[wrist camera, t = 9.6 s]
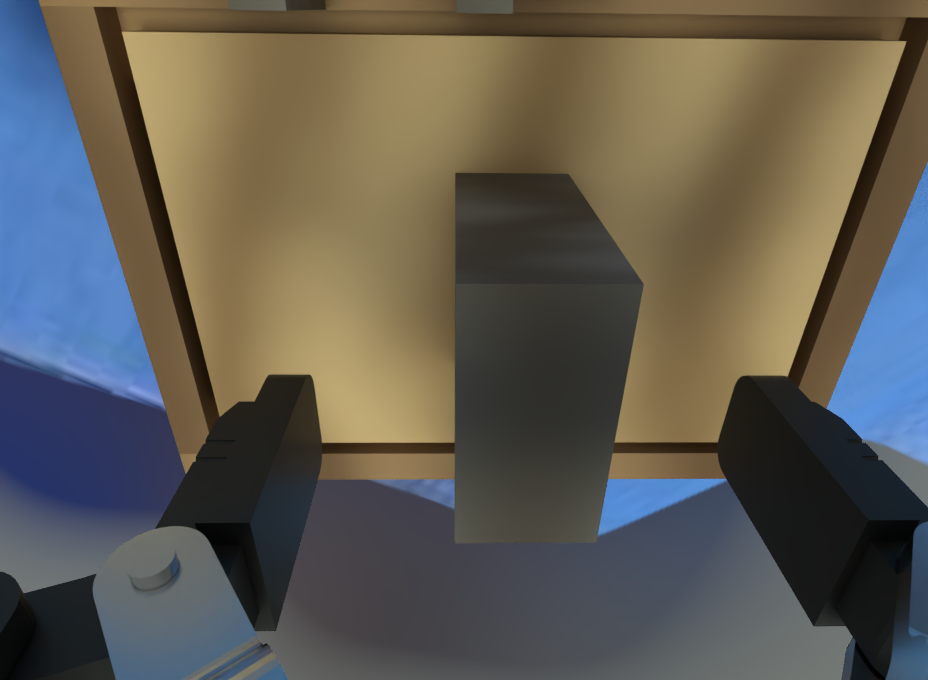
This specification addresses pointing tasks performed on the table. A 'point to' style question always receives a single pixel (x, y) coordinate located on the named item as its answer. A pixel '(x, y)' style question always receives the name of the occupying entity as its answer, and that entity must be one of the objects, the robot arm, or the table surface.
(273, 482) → the robot arm
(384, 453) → the wooden box
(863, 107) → the lid
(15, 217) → the table surface
